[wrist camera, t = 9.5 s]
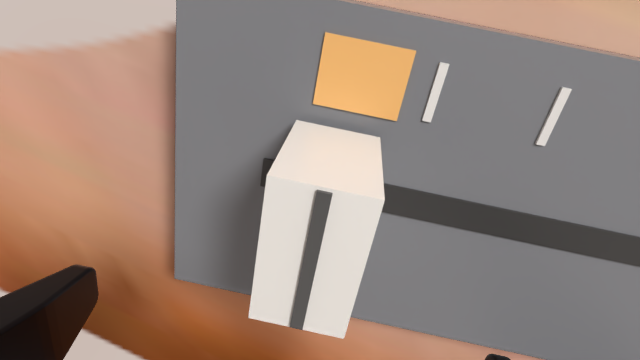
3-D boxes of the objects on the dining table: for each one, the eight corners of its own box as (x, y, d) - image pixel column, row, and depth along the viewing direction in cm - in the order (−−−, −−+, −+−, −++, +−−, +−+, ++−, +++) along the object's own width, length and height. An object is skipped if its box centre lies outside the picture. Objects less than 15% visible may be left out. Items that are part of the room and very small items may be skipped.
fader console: (669, 349, 20) (708, 396, 18) (195, 246, 21) (173, 280, 18) (879, 106, 14) (980, 129, 12) (205, -30, 15) (175, -33, 12)
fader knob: (350, 249, 16) (343, 341, 12) (278, 234, 16) (247, 320, 12) (379, 137, 14) (385, 202, 10) (296, 120, 14) (265, 176, 10)
